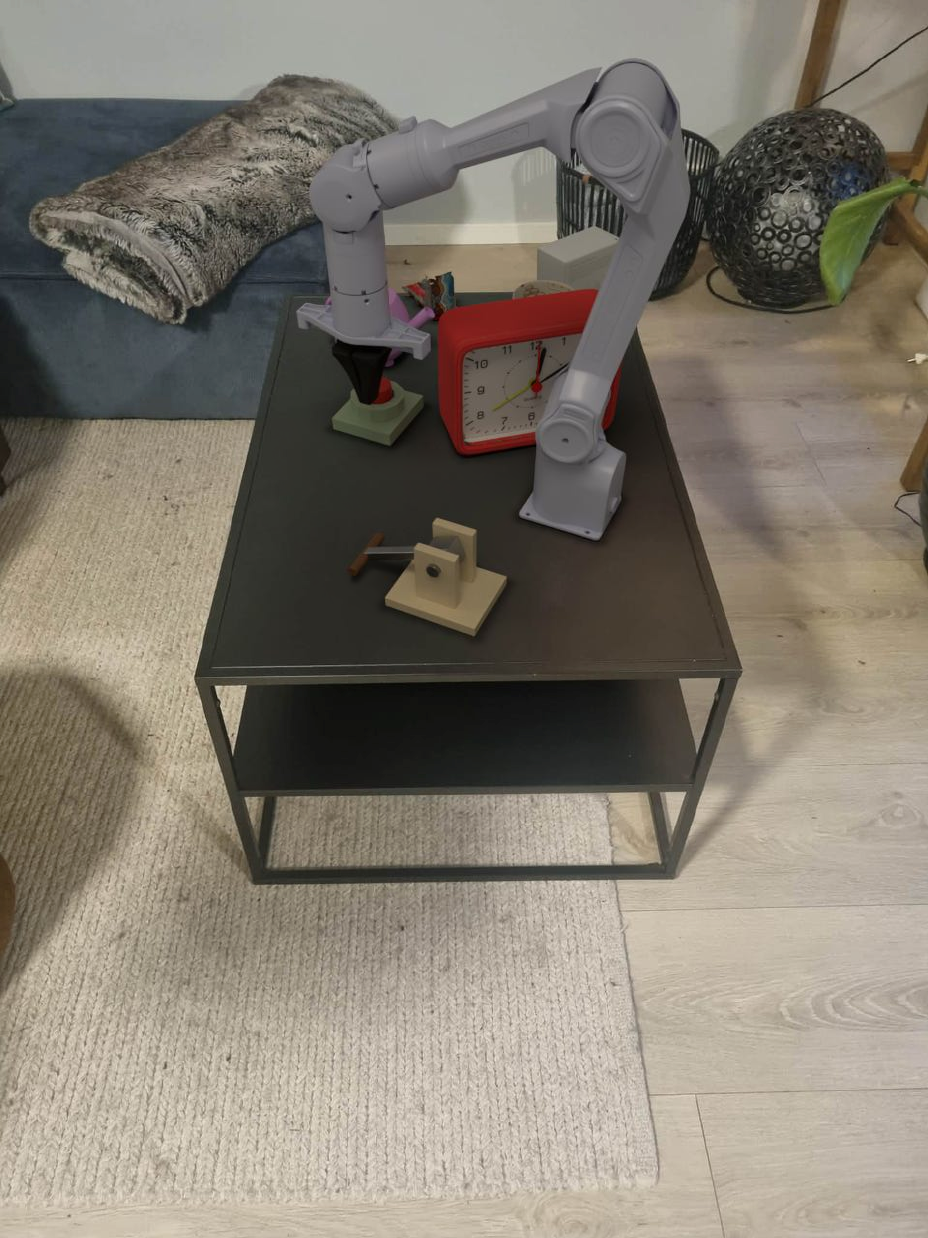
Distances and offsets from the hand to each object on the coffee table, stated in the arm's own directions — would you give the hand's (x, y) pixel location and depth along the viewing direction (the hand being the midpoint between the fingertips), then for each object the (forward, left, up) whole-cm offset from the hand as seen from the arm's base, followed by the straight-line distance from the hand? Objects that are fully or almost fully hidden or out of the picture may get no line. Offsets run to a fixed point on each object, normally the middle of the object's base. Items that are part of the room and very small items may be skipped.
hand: (369, 399), depth 101 cm
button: (+5, -10, -7) cm, 13 cm away
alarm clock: (-12, -16, -11) cm, 23 cm away
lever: (-12, +14, -7) cm, 20 cm away
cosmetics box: (-9, -44, -10) cm, 46 cm away
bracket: (-16, +14, -10) cm, 24 cm away
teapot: (+12, -23, -11) cm, 28 cm away
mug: (-10, -28, -11) cm, 32 cm away
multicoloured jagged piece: (+14, -36, -7) cm, 40 cm away
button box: (+5, -10, -10) cm, 15 cm away
